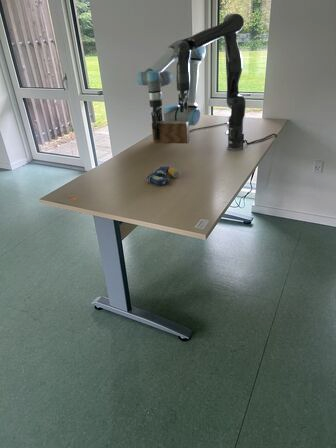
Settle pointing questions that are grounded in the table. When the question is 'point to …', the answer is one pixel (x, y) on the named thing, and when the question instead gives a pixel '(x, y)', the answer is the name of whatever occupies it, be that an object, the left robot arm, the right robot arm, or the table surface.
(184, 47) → the right robot arm
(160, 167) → the blue yellow printed carton
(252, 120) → the table surface
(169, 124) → the box
